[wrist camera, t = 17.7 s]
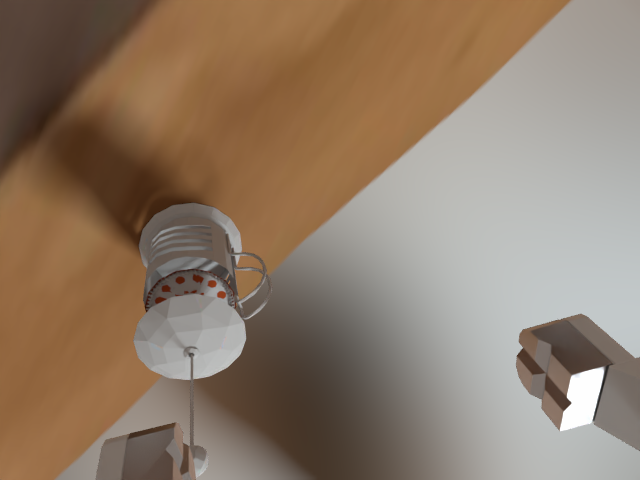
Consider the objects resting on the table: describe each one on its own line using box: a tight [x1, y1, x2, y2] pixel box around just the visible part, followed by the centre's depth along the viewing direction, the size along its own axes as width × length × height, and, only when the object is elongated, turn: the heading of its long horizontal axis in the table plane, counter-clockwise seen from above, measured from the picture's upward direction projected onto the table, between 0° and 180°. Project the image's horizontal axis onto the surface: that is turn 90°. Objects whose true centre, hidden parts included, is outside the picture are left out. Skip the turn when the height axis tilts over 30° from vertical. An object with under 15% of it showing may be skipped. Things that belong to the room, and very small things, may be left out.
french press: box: [133, 203, 273, 477], centre depth 37 cm, size 10×12×25 cm
